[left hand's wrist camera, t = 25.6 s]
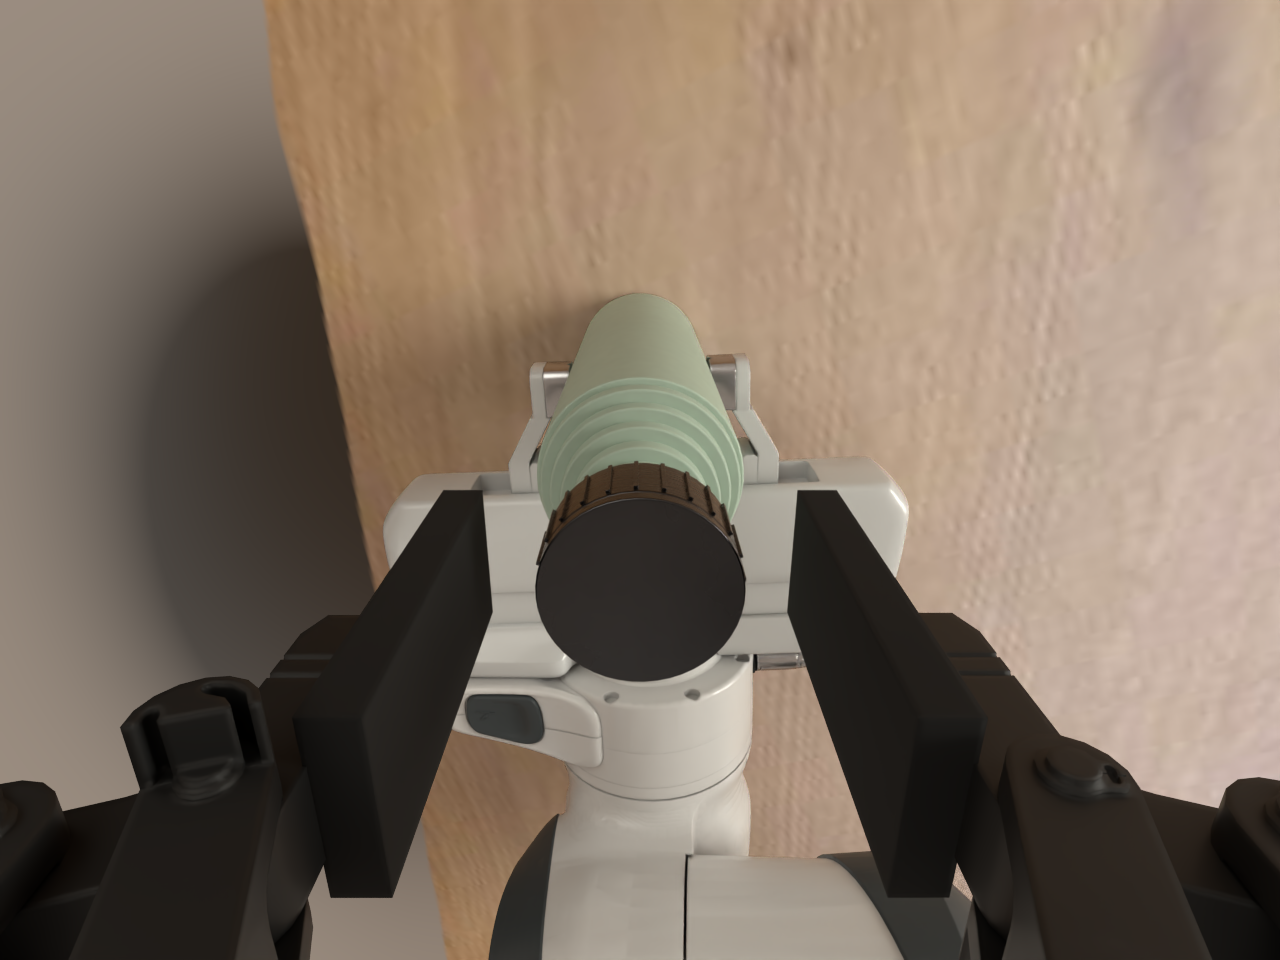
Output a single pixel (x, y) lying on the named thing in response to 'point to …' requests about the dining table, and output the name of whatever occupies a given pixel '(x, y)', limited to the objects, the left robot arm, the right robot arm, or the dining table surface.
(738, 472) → the bottle
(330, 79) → the dining table surface
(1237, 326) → the dining table surface
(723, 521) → the cap
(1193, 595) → the dining table surface
